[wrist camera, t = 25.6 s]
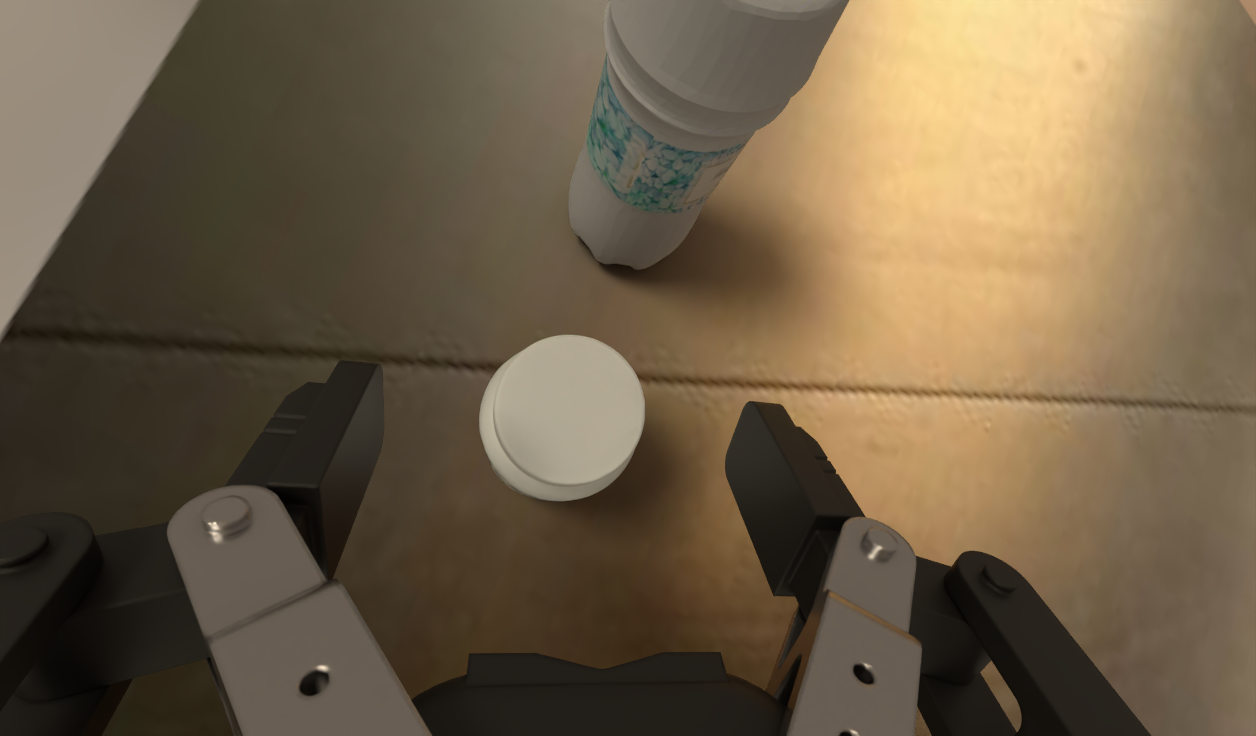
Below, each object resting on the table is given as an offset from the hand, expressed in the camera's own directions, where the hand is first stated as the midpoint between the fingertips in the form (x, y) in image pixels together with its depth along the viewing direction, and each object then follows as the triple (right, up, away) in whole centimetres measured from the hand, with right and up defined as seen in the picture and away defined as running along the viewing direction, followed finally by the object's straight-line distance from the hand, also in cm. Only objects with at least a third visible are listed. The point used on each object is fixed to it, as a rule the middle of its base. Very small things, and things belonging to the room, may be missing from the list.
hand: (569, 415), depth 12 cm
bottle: (+1, +9, +18) cm, 20 cm away
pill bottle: (-3, -2, +14) cm, 14 cm away
